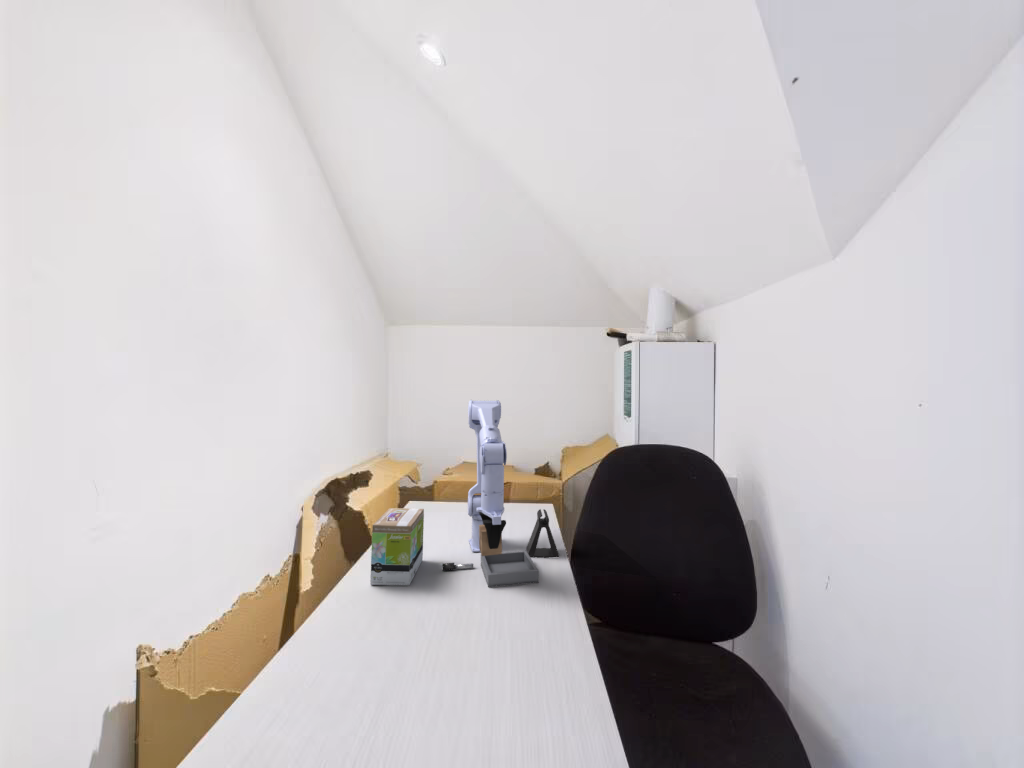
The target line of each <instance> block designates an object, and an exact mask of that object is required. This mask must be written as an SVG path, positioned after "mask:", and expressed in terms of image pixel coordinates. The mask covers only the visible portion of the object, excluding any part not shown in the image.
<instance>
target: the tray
mask: <svg viewBox="0 0 1024 768" xmlns="http://www.w3.org/2000/svg"><path fill="white" fill-rule="evenodd" d="M480 569H481V570H482V573H483V576H484V580H485V582H486V585H487V587H488V588H495V587H507V586H516V585H517V586H518V585H526V584H527V585H528V584H529V585H530V584H538V583H539V581H540V579H539V576H540V573H539V572H540V570H539V569H538V567H537V565H536V564H535V562H534V561H533V559H532V557H530V556H529V555H528V553H527V550H519V551H517V550H515V551H504V552H503V551H502V554H497V555H487V556H482V555H481V554H480Z"/></svg>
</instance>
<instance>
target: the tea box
mask: <svg viewBox="0 0 1024 768" xmlns="http://www.w3.org/2000/svg"><path fill="white" fill-rule="evenodd" d="M424 519H425V510H424V508H409V507H407V508H406V507H405V508H401V507H400V508H398V507H395V508H394V507H389V508H388V509H387V510H386V511H385V512H384V513H383V514H382V515H381V516H380V517H379V518H378V519H377V520H376V521H375V522H374V523H373V524H372V529H371V531H372V534H371V552H370V553H371V554H370V555H371V556H370V580H369V581H370V585H373V586H374V585H375V586H410V584H411V582H412V581H413V580H414V576H416V573H417V572H418V570H419V568H420V565H421V564H422V562H423V556H424V553H423V552H424V551H423V550H424V523H425V520H424Z"/></svg>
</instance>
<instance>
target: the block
mask: <svg viewBox="0 0 1024 768" xmlns="http://www.w3.org/2000/svg"><path fill="white" fill-rule="evenodd" d="M502 534H503V533H502ZM502 534H501V538H500V542H499V546H498V548H497V549H490V548H489V544H488V537H487V531H486V528H485V525H479V549H480V552H479V553H480V556H481V555H482V556H487V555H497V554H502V553H503V547H502V546H503V542H502V541H503V538H502V537H503V535H502Z"/></svg>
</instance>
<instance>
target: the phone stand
mask: <svg viewBox="0 0 1024 768" xmlns="http://www.w3.org/2000/svg"><path fill="white" fill-rule="evenodd" d="M536 514H537V515H536V517H537V518H536V520H535V524H534V527H533V530H532V532H531V536H530V537H529V540H528V542H527V545H526V551H527V553H528V555H529V556H530V558H535V557H537V559H538V558H539V559H540V558H544V559H545V558H546V559H547V558H549V557H560V554H559V551H558V548H557V545H556V541H555V539H554V536H553V534H552V530H551V528H550V525H549V524H550V517H549V515H548V512H547V510H546V509H543V512H542V509H541V508H540V509H538V510H537V513H536ZM543 514H544V517H543ZM542 517H543V518H542ZM543 528H545V531H546V535H547V539H548V542H549V546H550V547H537V546H538V544H539V543H538V542H539V538H540V536H541V531H542V529H543ZM535 559H536V558H535ZM549 559H550V558H549Z"/></svg>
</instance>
